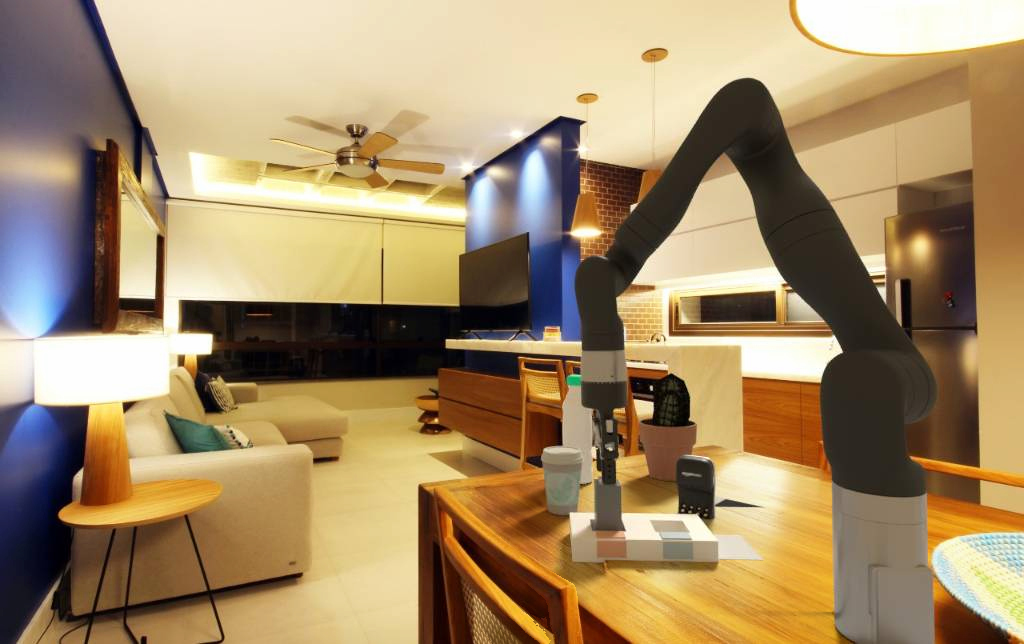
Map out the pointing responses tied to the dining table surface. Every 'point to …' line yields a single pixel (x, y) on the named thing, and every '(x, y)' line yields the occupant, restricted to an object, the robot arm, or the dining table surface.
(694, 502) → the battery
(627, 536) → the dock
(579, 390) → the water bottle
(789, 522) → the dining table surface
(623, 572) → the dining table surface
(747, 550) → the mat
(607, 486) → the plug
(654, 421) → the potted plant
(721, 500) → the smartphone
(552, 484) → the coffee cup
